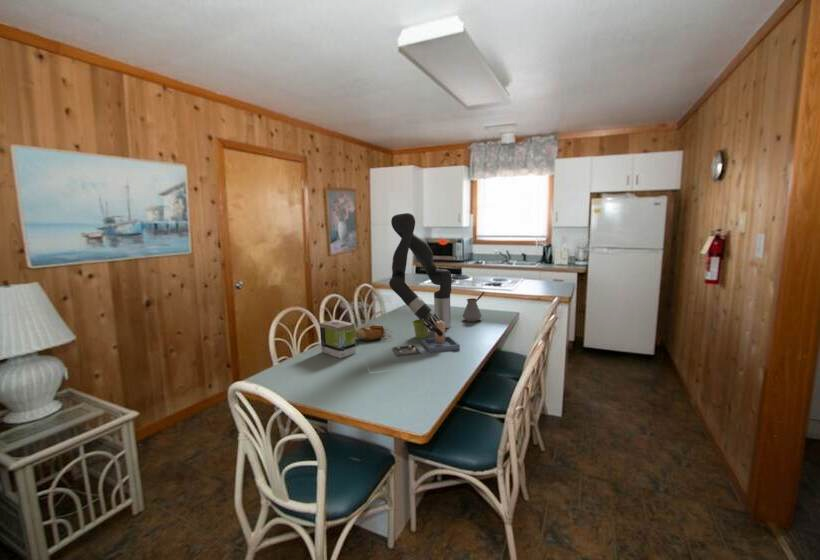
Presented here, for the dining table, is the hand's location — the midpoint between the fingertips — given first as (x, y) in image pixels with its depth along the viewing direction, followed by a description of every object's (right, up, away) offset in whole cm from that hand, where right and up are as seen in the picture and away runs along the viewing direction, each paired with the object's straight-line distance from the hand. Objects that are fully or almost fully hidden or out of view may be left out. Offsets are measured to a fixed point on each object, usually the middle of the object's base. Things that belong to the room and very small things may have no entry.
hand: (443, 333), depth 191 cm
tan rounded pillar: (-2, -5, +1) cm, 5 cm away
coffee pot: (+25, +2, +53) cm, 58 cm away
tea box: (-50, -9, -2) cm, 51 cm away
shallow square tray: (-1, -7, +2) cm, 7 cm away
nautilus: (-35, -6, +17) cm, 39 cm away
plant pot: (-10, -5, +18) cm, 21 cm away
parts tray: (-18, -8, -4) cm, 20 cm away
